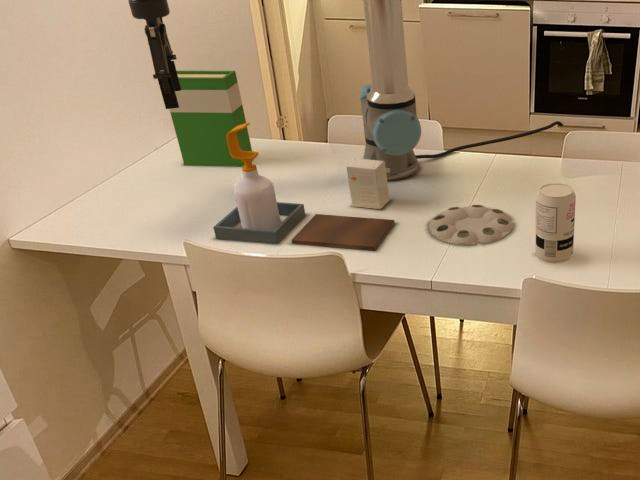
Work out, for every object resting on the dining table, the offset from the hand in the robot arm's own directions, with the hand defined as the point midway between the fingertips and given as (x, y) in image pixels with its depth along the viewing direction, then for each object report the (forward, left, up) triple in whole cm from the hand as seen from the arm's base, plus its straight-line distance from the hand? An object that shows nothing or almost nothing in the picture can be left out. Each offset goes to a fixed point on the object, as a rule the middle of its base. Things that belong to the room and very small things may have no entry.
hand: (173, 99), depth 169 cm
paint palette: (-60, +29, -28) cm, 72 cm away
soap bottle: (-13, +12, -28) cm, 33 cm away
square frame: (-13, +12, -28) cm, 33 cm away
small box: (-40, +8, -28) cm, 50 cm away
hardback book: (-4, -37, -28) cm, 47 cm away
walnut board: (-31, +22, -28) cm, 48 cm away
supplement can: (-73, +49, -28) cm, 92 cm away
